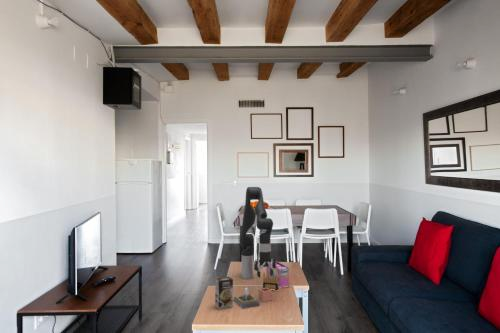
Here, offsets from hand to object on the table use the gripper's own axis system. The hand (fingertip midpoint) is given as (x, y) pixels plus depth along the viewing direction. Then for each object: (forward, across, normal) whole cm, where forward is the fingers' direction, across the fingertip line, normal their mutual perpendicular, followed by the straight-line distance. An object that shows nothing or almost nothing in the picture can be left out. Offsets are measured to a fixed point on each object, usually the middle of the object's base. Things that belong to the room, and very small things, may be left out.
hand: (265, 276), depth 189 cm
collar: (+14, 0, 0) cm, 14 cm away
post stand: (+14, +13, 0) cm, 19 cm away
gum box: (+14, -22, -24) cm, 36 cm away
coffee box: (+14, +27, -1) cm, 31 cm away
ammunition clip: (+14, -11, -13) cm, 22 cm away
